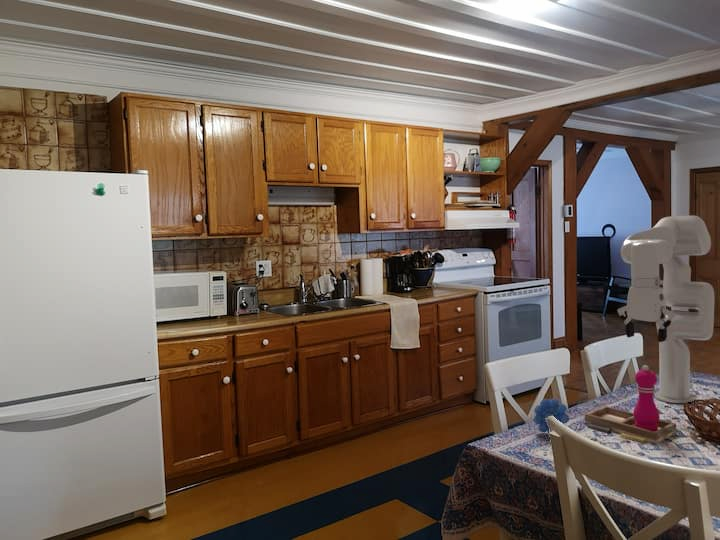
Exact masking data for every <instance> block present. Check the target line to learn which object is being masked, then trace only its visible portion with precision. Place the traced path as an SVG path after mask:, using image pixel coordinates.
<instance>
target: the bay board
mask: <svg viewBox="0 0 720 540" xmlns="http://www.w3.org/2000/svg"><path fill="white" fill-rule="evenodd" d="M635 422H636V419H635V418H634V416H633V412H631V411H627V410H622V409H619V408H615V407H610V406H607V405H605V406H602V407H599V408H597V409H595V410H592V411H590V412H589V411H588V412H587V413H584V424H586V427H587V428H589V429H592V430H593V429H594V430H596V431H599V432H603V433H606V434H609V433H611V432H614V433H617V432H618V433H617V434H619V437H620V438H623V439H628V440H630V441H634V442H637V443H640V444H644V443H645V444H646V442H649V443H653V444H657V443H660V442H662V441H664V440H665V439H667V438H670V437H671V436H673V435H675V434H677V423H675V422H672V421H667V420H664V419H661V418H659V420H658V421H657V422H656V423H657V424H658V430H657V431H655V432H653V431H650V430H646V429H642V428H639V427H635Z"/></svg>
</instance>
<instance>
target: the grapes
mask: <svg viewBox="0 0 720 540" xmlns="http://www.w3.org/2000/svg"><path fill="white" fill-rule="evenodd" d="M533 412H534V414H535V416H534V417H533V422H534V423H535V424H536V425H538V431H540V432H541V433H543V432H544V433H547V434H548V433H549V427H548V425H547V422H546V421H545V420H546V419H545V418H547V417H548V416H551V415H553V416H554V417H555V418H556V419H557V420H559V421H560V422H562V423H563V424H564V425H565V426H566V424H567V423H568V422H569V421H570V416H569V415H568V414H567V413H566V412H567V406H566V405H565V404H564V403H560V402H559V400H558V399H557V398H555V397H553V398H551V399H550V400H549V399H548V398H543V399H541V400H540V403H539V405H538V404H537V405H536V406H535V407H534V410H533Z"/></svg>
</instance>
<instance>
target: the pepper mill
mask: <svg viewBox="0 0 720 540" xmlns="http://www.w3.org/2000/svg"><path fill="white" fill-rule="evenodd" d="M641 368H642V369H640V370H638V371H637V372H636V373H635V375H634V381H635V383H636V384H637V385H636V390H637V391H638V399H637V402H636V405H635V406H634V409H633V412H632V413H633V416H634V418H635V419H636V422H635V427H639V428H642V429H646V430H650V431H653V432H655V431H657V430H658V424H657V423H656V422H657V421H658V420H659V419H661V416H660V411H659V409H658V407H657V405H656V403H655V400H654V394H655V393H656V386H655V385H656V383H657V382H658V381H657V380H658V379H657V375H656V374H655V372H654V371H652V370H650V368H649V366H648V365H646V364H645V365H644V364H643V366H642V367H641Z"/></svg>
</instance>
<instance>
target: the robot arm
mask: <svg viewBox="0 0 720 540" xmlns="http://www.w3.org/2000/svg"><path fill="white" fill-rule="evenodd" d="M705 223H706V222H705V221H704V220H703V219H702V218H701V217H699V216H698V215H677V216H676V215H675V216H674V215H673V216H671V215H670V216H666V217H663V218H661V219H659V221H658V222H657V223H655V225H654V226H653V227H651V228H648V229H644V230H641V231H637V232H635V233H633V234H631V235H629V236H628V237H627V238H626V239H625V240H624V241H623V243H622V245H621V248H620V256H621V259H622V261H623V262H624V263H627V264H630V271H631V273H630V275H631V276H630V277H631V278H630V279H631V286H630V287H628V288H629V289H628V293H627V298H626V299H627V302H626V305H624V306H622V307H619V308H618V309H617V310H616V311H617V313H618V315H619V318H620V320H622V322H623V323H624V325H625V334H626V338H631V337H635V324H634V321H635V320H636V321H641V322H642V321H643V322H653V323H654V322H655V325H656V331H657V342H658V344H659V345H658V346H659V347H658V349H659V350H658V352H659V354H658V355H659V356H658V357H659V359H658V360H659V370H658V371H659V375H658V376H659V390H658V391H655V392H654V398H655V399H657V400H659V401H662V402H666V403H671V404H689V403H688V402H691V403H692V401H693V402H694V401H696V398H695V397H696V396H694V395H693V394H692V393H691V391H690V390H692V389H693V388H694V386H693V384H692V383H691V380H690V375H691V374H690V373H691V372H690V370H691V369H690V366H691V365H690V364H691V363H690V362H691V361H690V360H691V359H690V357H691V356H690V355H691V354H690V350H689V347H688V345H687V344H686V343H685V342H684V340H693V341H709V340H710V339H711V338H712V336H713V334H714V327H715V326H714V325H715V323H714V320H715V291H714V288H713V286H712V284H710V283H708V282H704V281H691V279H692V278H691V277H692V276H691V275H692V274H691V273H692V269H691V266H690V264H689V263H688V261H686V260H685V259H684V257H682V256H703V255H704V256H705V255H706V254H708V253H709V252H710V250H711V247H712V241H711V240H712V239H711V235H710V233H709V231H708V228H707V225H706V224H705ZM661 264H662V267H663V279H661V278H660V265H661ZM661 285H662V287H660V286H661ZM667 307H669V308H675V309H676V308H677V309H691V310H697V311H698V312H693V311H692V312H691V311H677V310H675V311H674V310H669V309H668V308H667ZM625 312H626V313H625Z"/></svg>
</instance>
